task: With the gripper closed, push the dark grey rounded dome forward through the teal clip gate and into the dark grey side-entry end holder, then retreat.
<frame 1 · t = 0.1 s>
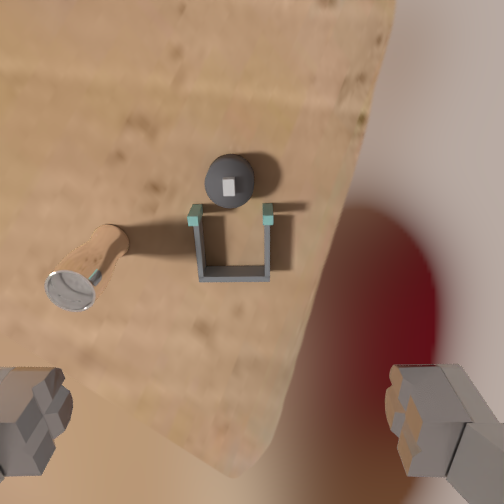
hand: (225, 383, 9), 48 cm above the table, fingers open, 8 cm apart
dark grey rounded dome: (231, 177, 56), on the table
beer glass: (111, 240, 61), on the table
cable holder: (234, 242, 61), on the table
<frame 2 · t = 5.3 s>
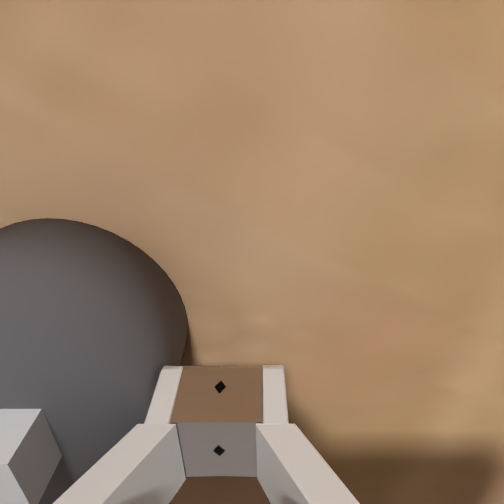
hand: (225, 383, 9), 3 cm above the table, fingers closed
dark grey rounded dome: (78, 319, 12), on the table, touching gripper
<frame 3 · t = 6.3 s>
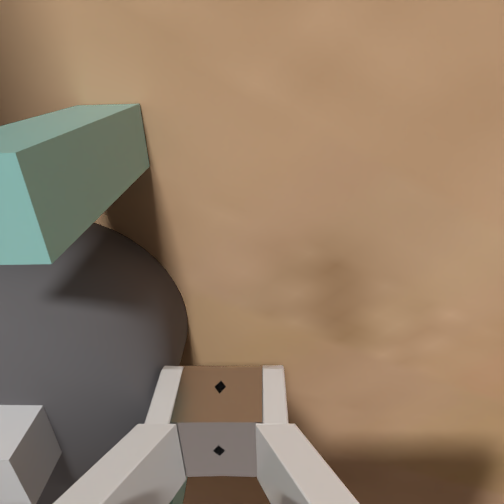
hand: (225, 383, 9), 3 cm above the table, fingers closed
dark grey rounded dome: (78, 317, 12), on the table, touching gripper
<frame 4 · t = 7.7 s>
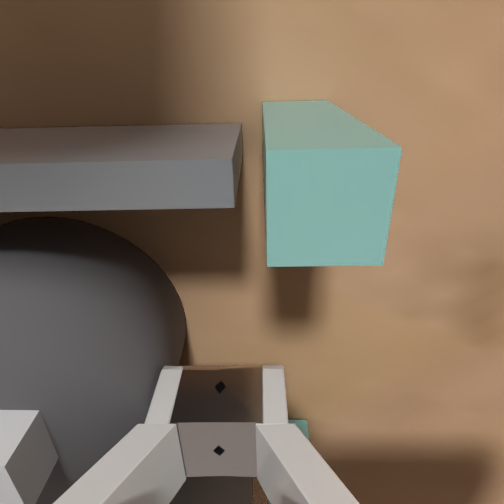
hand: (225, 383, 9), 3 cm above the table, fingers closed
dark grey rounded dome: (75, 319, 12), on the table, touching gripper
cable holder: (98, 319, 12), on the table
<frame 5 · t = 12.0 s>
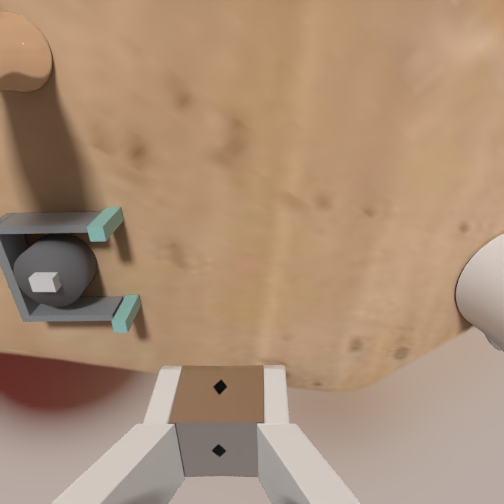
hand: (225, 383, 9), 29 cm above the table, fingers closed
dark grey rounded dome: (66, 260, 41), on the table
beer glass: (18, 53, 32), on the table
cable holder: (72, 260, 41), on the table
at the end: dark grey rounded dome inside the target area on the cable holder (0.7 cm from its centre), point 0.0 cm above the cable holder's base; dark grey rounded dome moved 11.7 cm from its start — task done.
